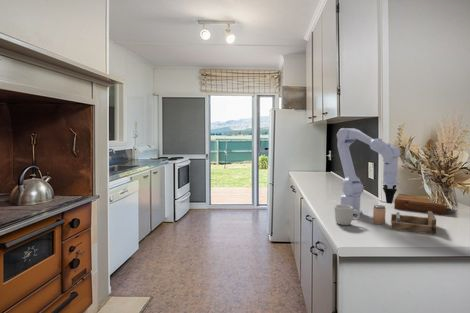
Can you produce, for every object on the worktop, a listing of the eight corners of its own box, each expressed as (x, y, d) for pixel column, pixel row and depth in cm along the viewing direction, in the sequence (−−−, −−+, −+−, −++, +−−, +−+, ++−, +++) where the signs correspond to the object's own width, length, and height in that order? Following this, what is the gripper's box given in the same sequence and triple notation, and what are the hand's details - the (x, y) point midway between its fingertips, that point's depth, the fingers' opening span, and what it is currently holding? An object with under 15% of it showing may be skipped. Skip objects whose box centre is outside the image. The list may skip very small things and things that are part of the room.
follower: (396, 227, 130) (396, 218, 129) (396, 220, 139) (396, 212, 139) (399, 227, 129) (399, 218, 129) (399, 220, 139) (399, 212, 139)
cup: (358, 222, 138) (359, 205, 137) (360, 228, 130) (360, 209, 130) (334, 220, 141) (334, 204, 141) (333, 225, 134) (334, 208, 133)
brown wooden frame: (391, 228, 129) (391, 215, 128) (391, 219, 142) (391, 207, 142) (435, 234, 122) (436, 220, 121) (431, 224, 135) (431, 211, 134)
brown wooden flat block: (394, 210, 163) (394, 199, 163) (398, 203, 179) (398, 193, 178) (445, 215, 150) (446, 204, 150) (445, 208, 165) (446, 197, 165)
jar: (372, 223, 137) (373, 206, 136) (373, 220, 141) (373, 204, 141) (385, 225, 134) (385, 207, 134) (385, 222, 139) (385, 205, 138)
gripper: (400, 175, 129) (399, 205, 130) (399, 171, 142) (398, 199, 143) (382, 174, 132) (381, 204, 133) (383, 170, 145) (382, 197, 146)
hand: (389, 201), depth 139 cm, fingers open, 7 cm apart
